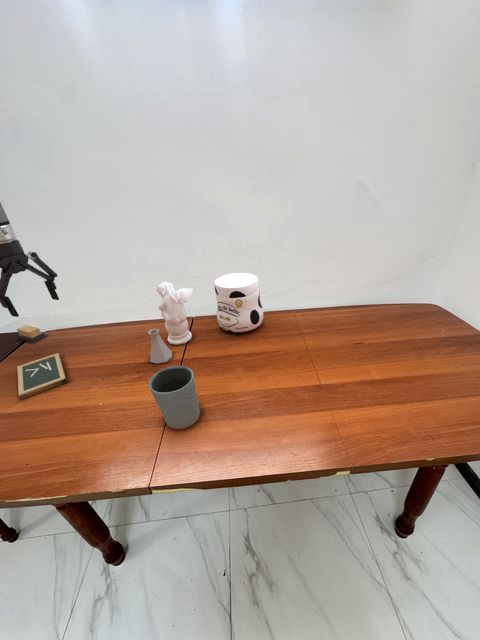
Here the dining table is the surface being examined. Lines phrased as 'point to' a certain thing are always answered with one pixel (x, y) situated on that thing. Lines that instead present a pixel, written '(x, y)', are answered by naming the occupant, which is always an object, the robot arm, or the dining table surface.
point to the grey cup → (176, 396)
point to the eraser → (30, 333)
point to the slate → (40, 375)
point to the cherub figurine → (175, 312)
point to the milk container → (238, 302)
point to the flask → (158, 348)
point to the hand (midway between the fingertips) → (36, 307)
